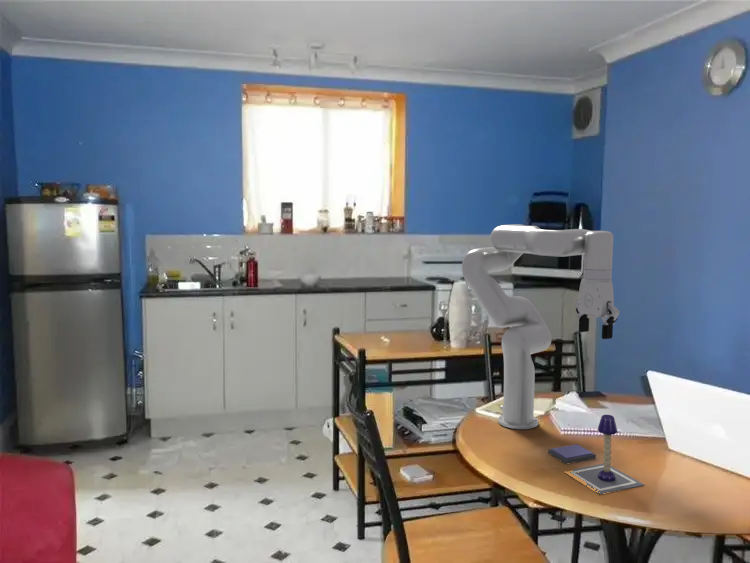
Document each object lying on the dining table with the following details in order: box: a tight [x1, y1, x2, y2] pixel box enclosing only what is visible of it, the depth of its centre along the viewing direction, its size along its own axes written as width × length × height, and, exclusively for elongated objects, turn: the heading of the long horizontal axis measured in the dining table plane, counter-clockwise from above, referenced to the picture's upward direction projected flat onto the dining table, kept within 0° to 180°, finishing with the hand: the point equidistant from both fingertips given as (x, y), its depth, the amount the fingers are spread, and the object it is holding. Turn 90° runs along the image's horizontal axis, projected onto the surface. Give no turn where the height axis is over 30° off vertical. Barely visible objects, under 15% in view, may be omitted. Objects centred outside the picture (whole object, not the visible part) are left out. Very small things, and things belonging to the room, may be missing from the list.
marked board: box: [570, 463, 645, 495], centre depth 166 cm, size 14×14×1 cm
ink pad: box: [547, 443, 597, 465], centre depth 181 cm, size 8×10×2 cm
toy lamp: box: [597, 414, 618, 482], centre depth 165 cm, size 5×5×17 cm
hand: (595, 335), depth 182 cm, fingers open, 9 cm apart
